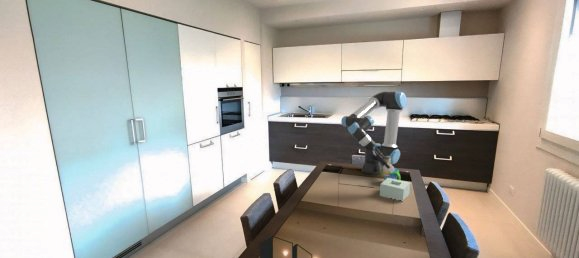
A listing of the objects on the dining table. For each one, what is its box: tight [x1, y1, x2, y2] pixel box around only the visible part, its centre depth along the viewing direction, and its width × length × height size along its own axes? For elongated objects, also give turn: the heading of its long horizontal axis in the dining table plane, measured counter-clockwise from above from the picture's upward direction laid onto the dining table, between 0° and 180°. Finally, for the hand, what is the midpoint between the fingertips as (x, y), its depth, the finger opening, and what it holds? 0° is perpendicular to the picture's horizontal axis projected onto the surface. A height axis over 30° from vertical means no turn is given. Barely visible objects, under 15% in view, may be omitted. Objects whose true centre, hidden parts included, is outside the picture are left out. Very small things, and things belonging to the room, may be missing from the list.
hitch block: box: [379, 178, 411, 202], centre depth 164 cm, size 14×14×8 cm
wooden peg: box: [382, 156, 391, 177], centre depth 164 cm, size 4×4×12 cm
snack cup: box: [380, 167, 402, 181], centre depth 184 cm, size 16×10×10 cm
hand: (392, 170), depth 163 cm, fingers closed on wooden peg, 4 cm apart
